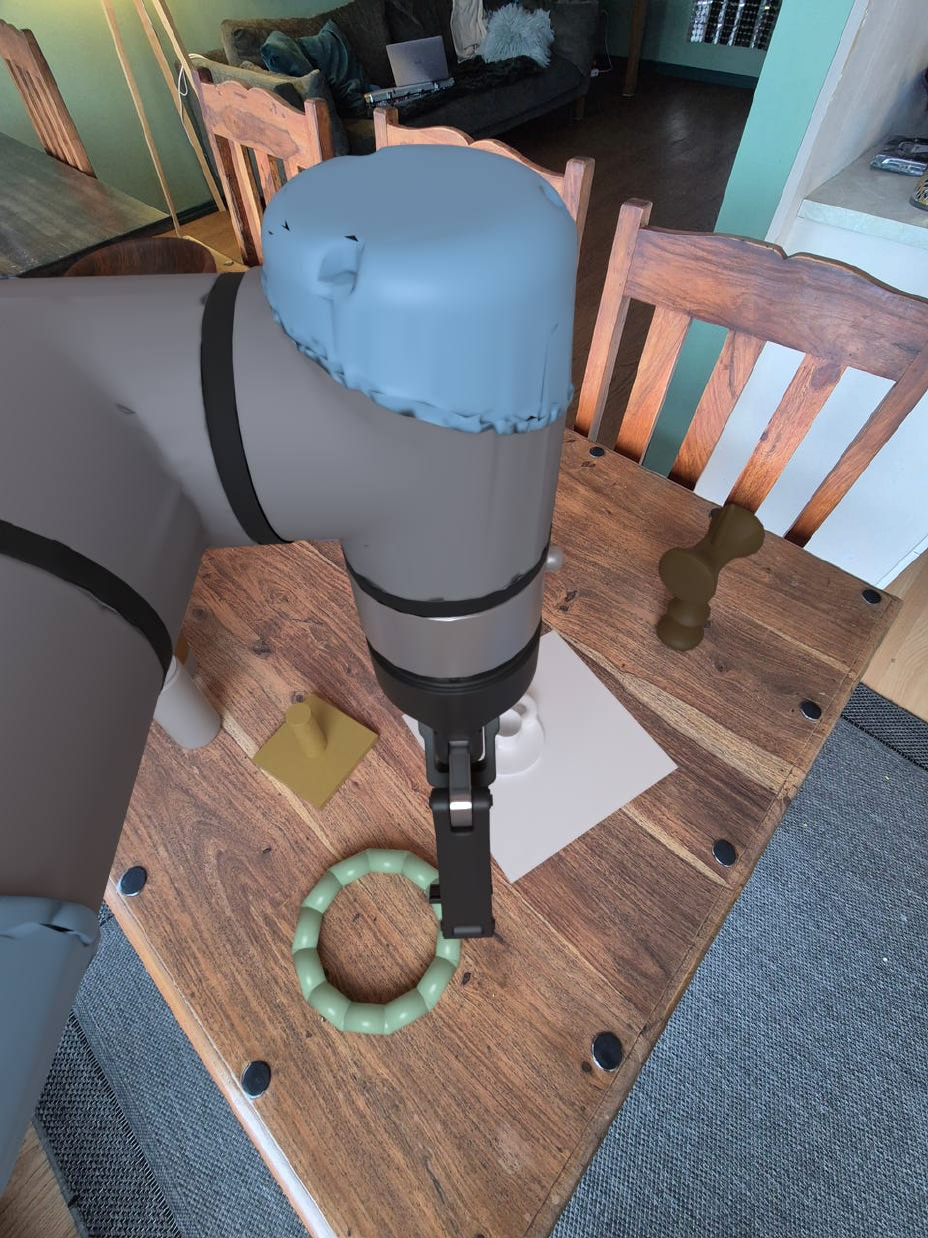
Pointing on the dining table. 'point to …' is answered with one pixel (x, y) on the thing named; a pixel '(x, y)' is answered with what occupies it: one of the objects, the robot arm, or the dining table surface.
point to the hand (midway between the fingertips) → (465, 797)
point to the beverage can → (185, 710)
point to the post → (315, 750)
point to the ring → (310, 967)
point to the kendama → (703, 573)
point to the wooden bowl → (146, 259)
